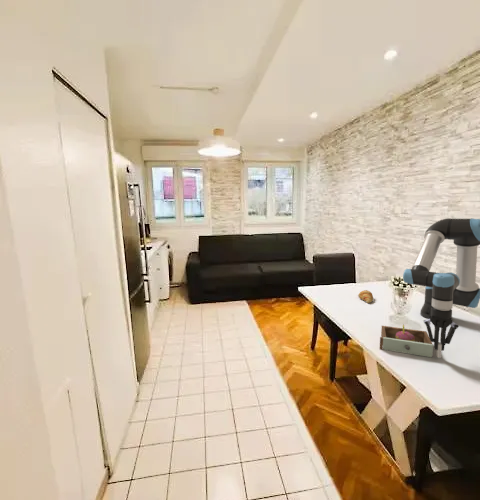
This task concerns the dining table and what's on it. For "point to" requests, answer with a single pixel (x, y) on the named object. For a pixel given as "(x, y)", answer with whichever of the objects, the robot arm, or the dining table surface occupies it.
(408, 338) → the cupcake
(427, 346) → the grey flat panel
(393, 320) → the dining table surface
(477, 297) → the robot arm
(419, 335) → the holder
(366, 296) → the croissant
